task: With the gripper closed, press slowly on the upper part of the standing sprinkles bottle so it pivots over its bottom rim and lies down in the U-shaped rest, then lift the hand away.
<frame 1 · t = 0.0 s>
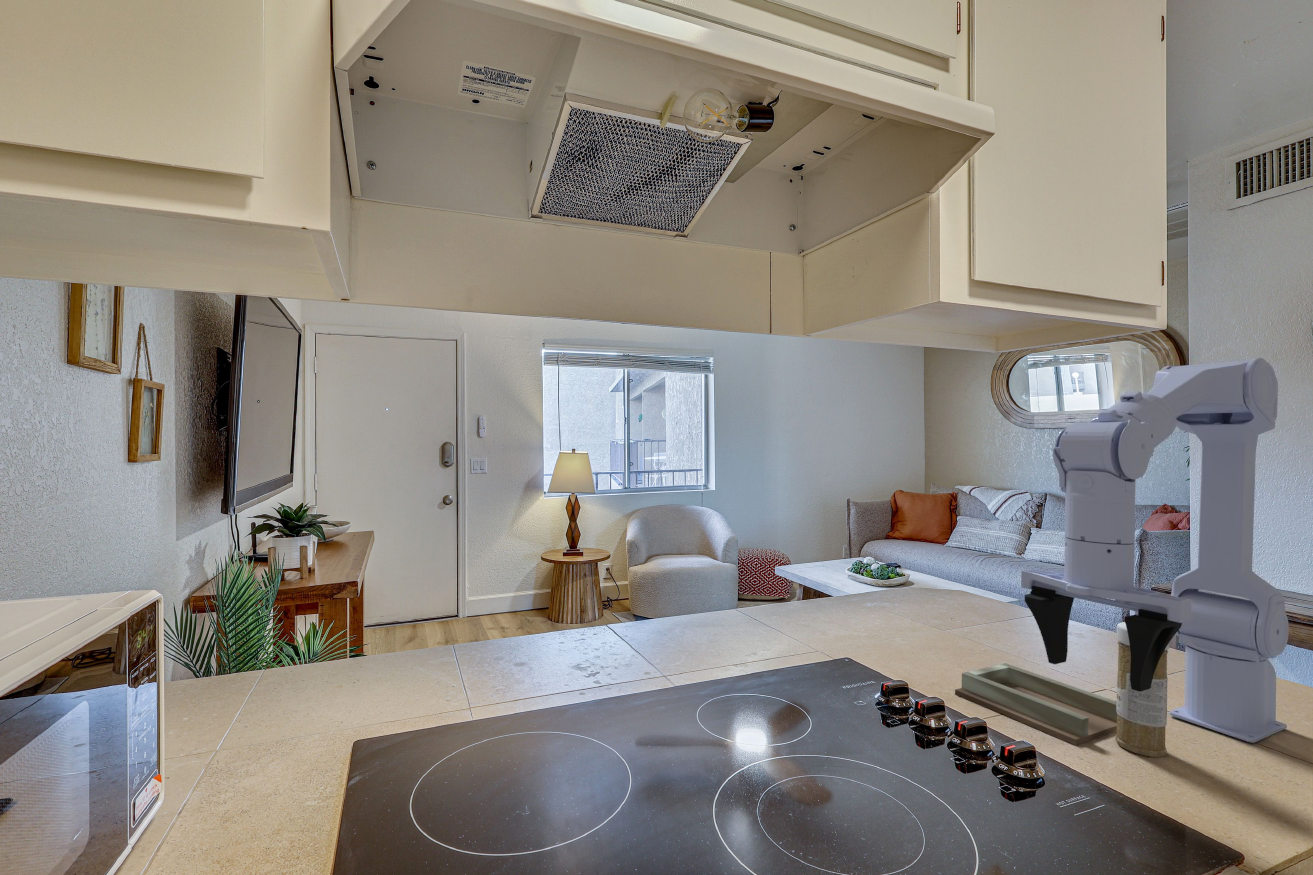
hand: (1096, 674, 61), 10 cm above the counter, tool pointing down, fingers open, 7 cm apart
sprinkles bottle: (1140, 750, 67), on the counter
bottle rest: (1039, 708, 77), on the counter
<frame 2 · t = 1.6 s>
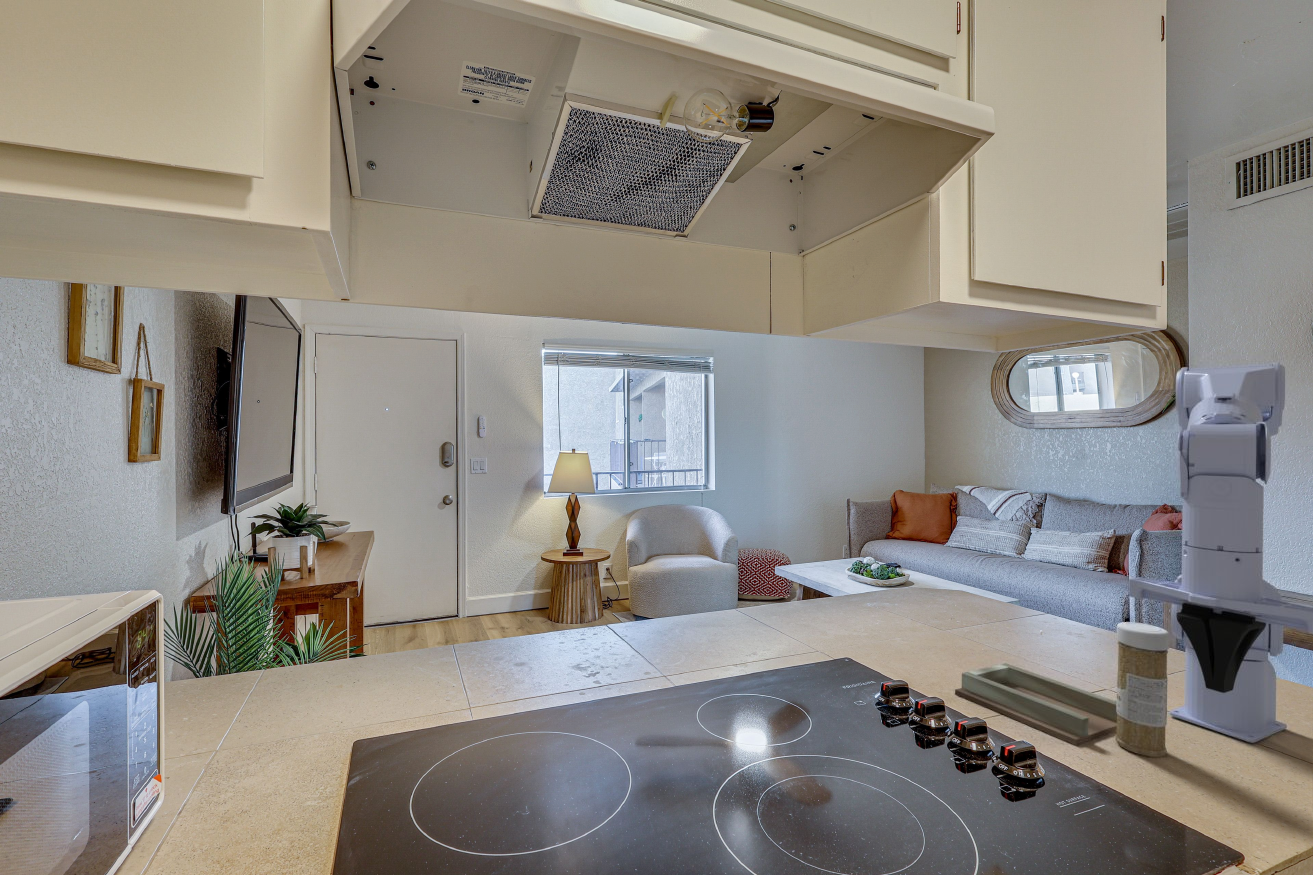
hand: (1219, 688, 58), 10 cm above the counter, tool pointing down, fingers closed
nothing on the counter moved.
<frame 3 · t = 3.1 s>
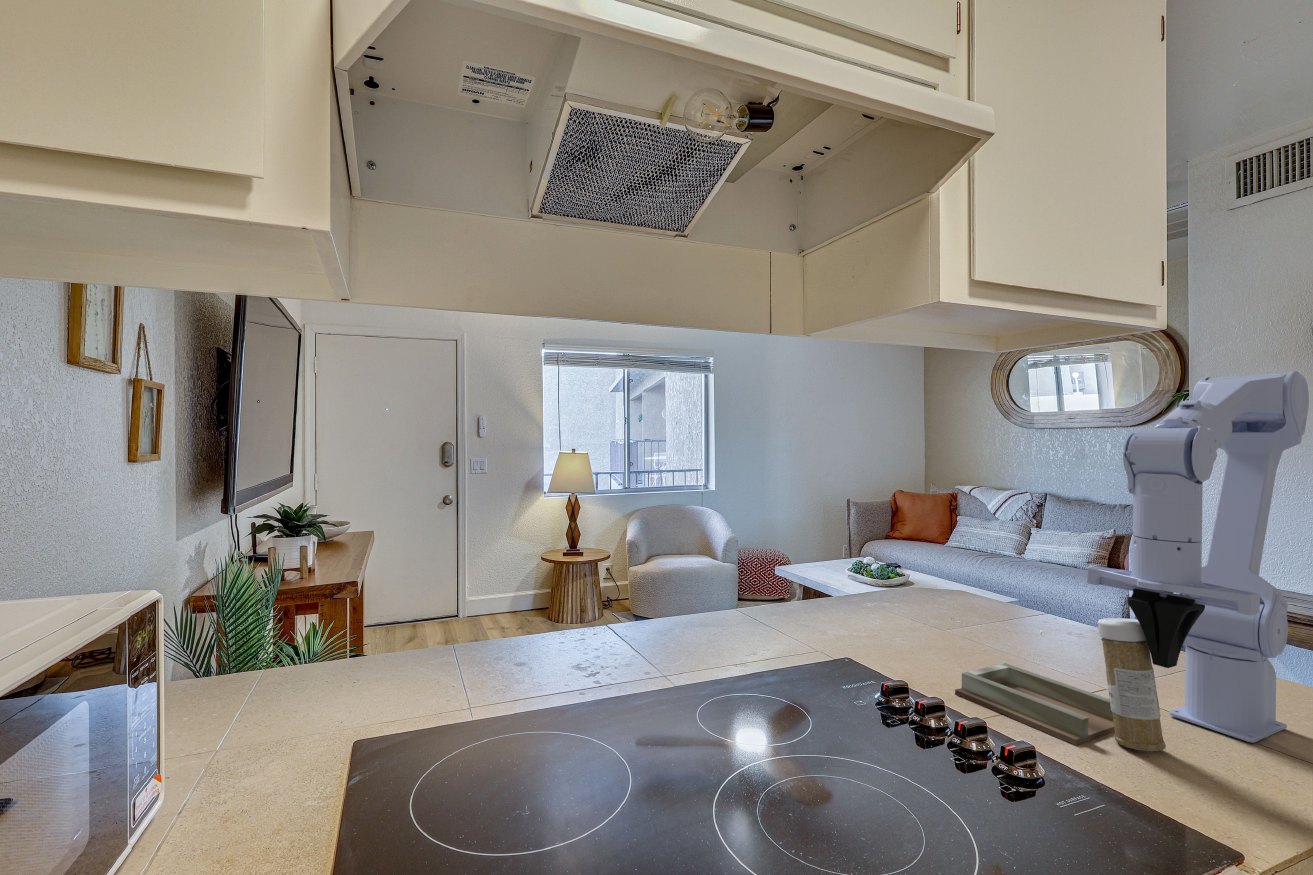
hand: (1164, 664, 65), 10 cm above the counter, tool pointing down, fingers closed
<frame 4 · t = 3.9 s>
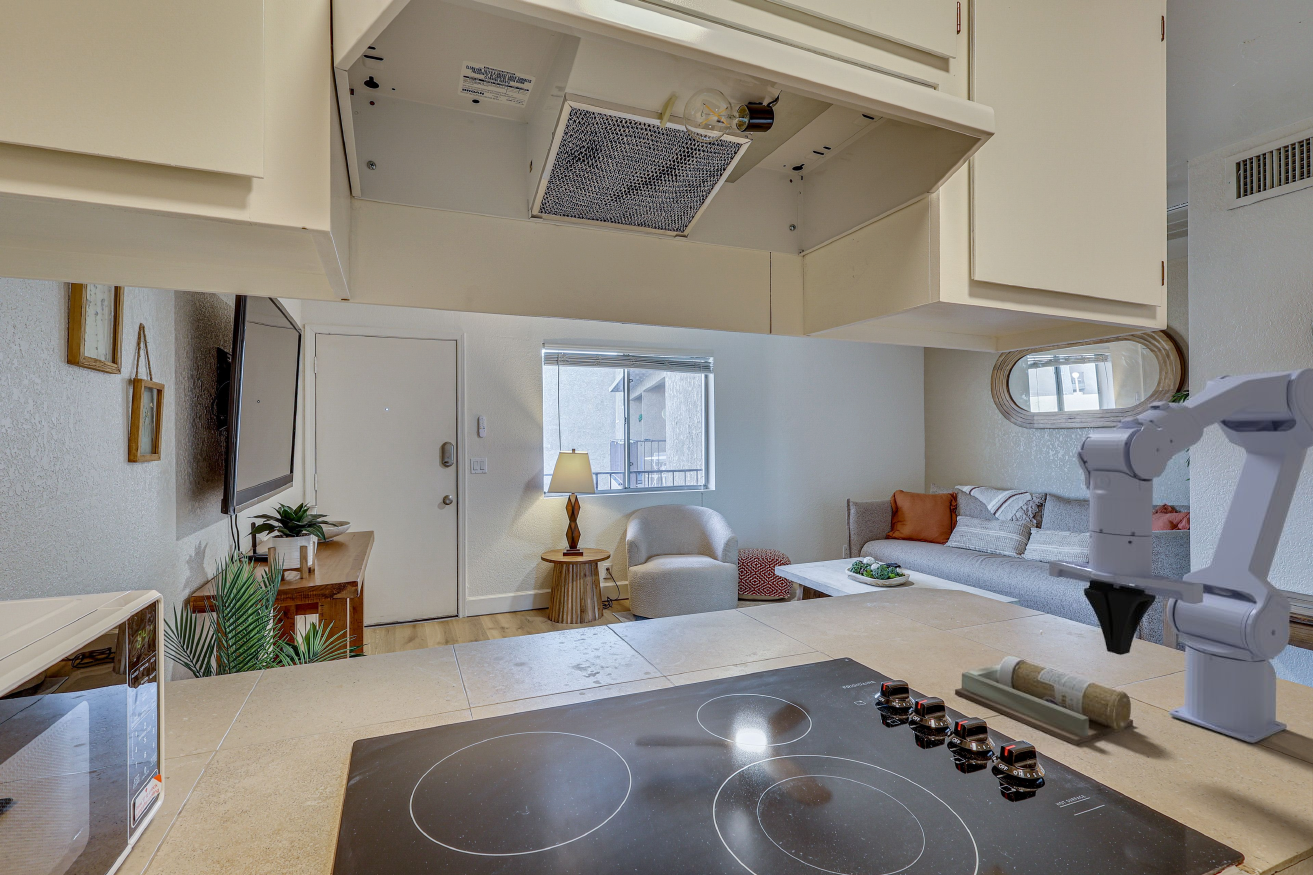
hand: (1118, 651, 69), 10 cm above the counter, tool pointing down, fingers closed
sprinkles bottle: (1126, 712, 69), point 3 cm above the counter
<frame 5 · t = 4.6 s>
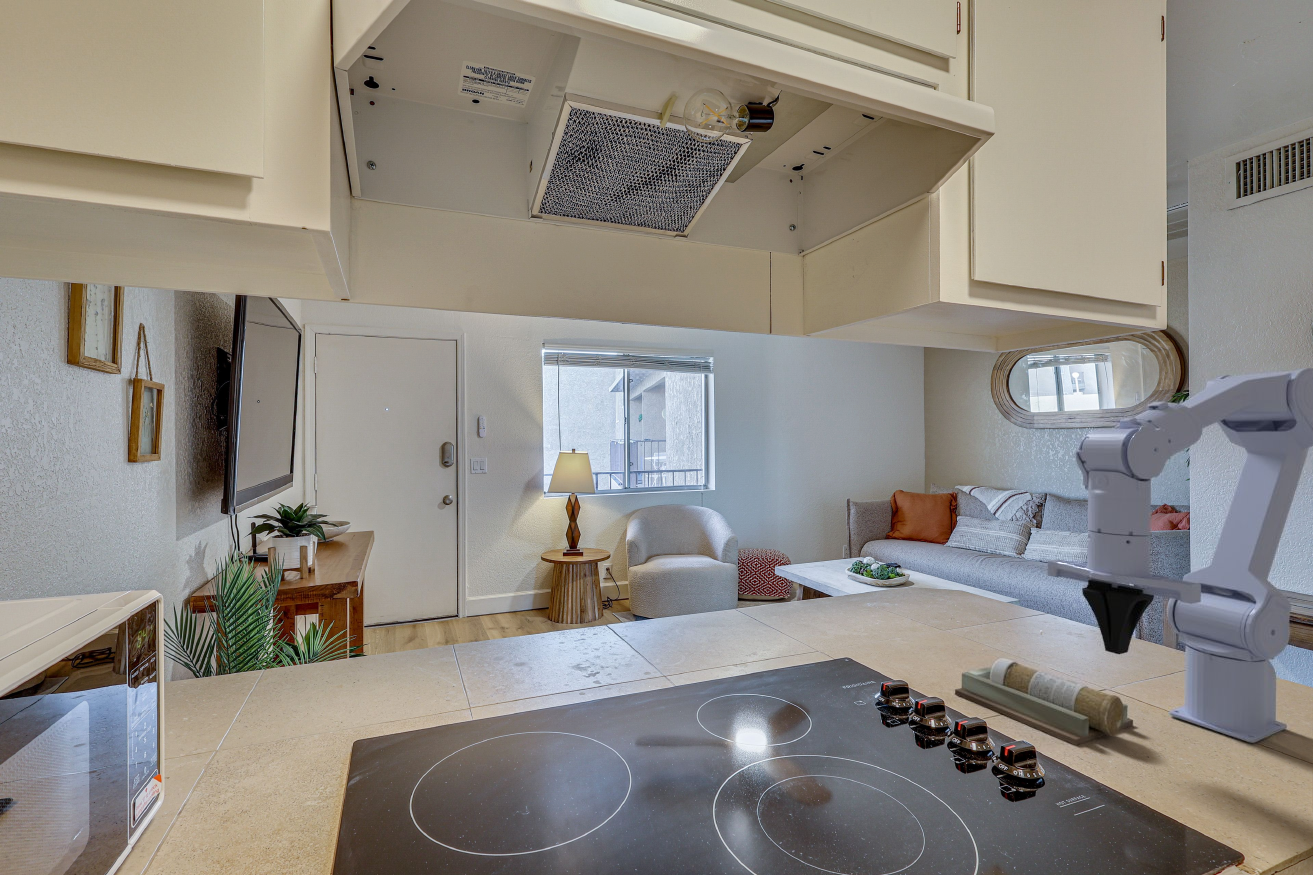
hand: (1116, 651, 69), 10 cm above the counter, tool pointing down, fingers closed
sprinkles bottle: (1118, 716, 68), point 3 cm above the counter, touching bottle rest
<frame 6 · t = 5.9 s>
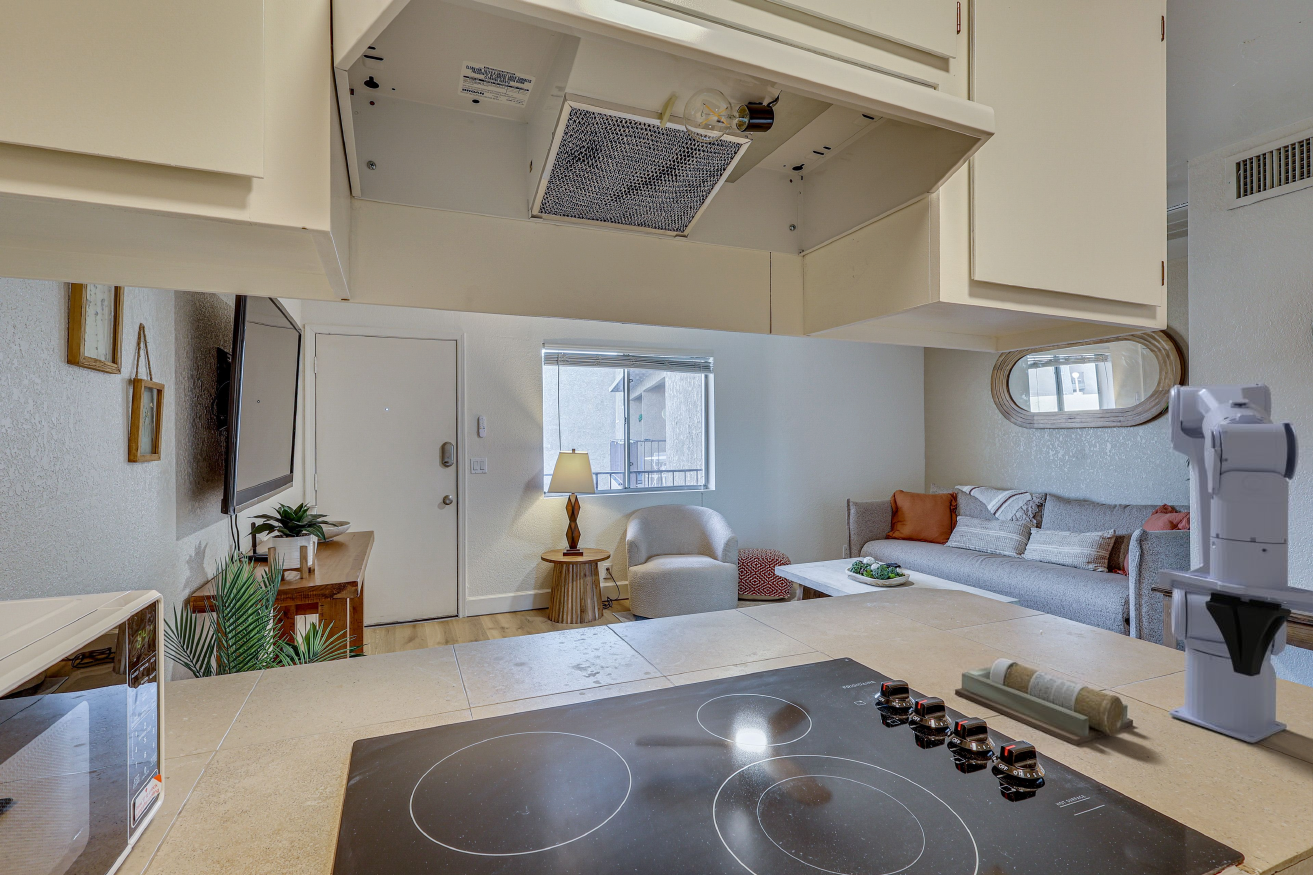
hand: (1246, 673, 62), 10 cm above the counter, tool pointing down, fingers closed
nothing on the counter moved.
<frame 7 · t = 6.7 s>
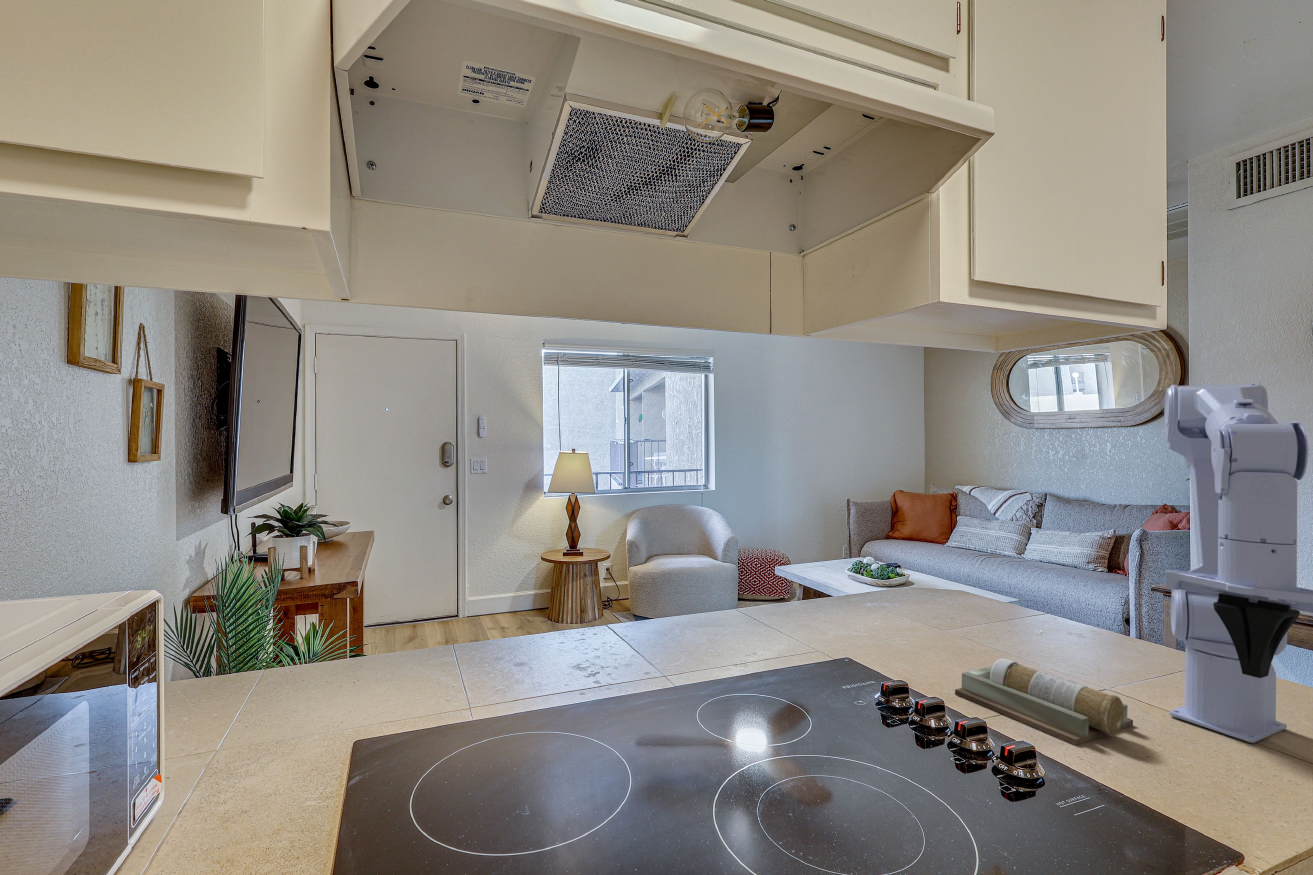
hand: (1255, 674, 61), 10 cm above the counter, tool pointing down, fingers closed
nothing on the counter moved.
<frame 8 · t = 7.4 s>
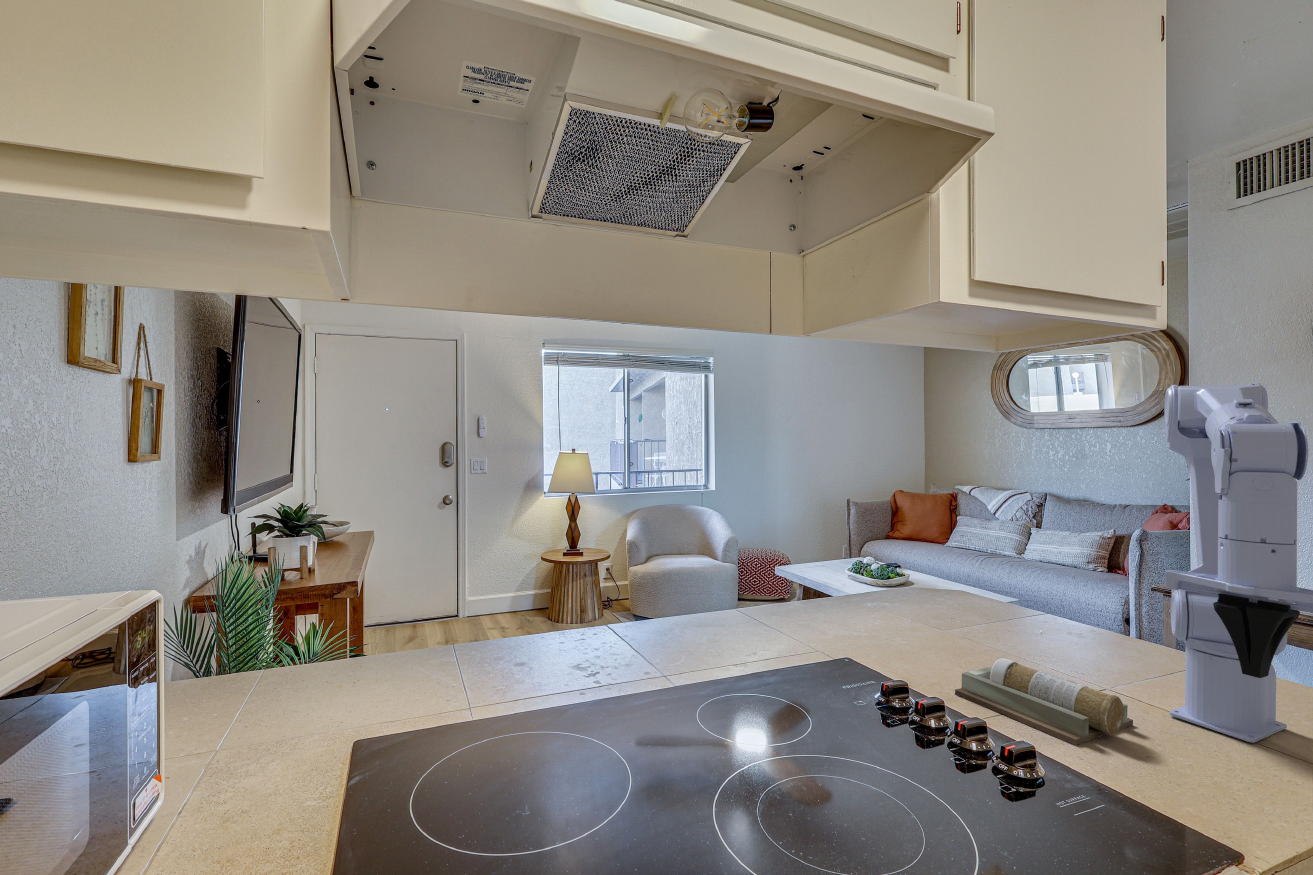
hand: (1255, 674, 61), 10 cm above the counter, tool pointing down, fingers closed
nothing on the counter moved.
at the end: sprinkles bottle tilted 89°; sprinkles bottle 2.0 cm from the target spot on the bottle rest, point 2.7 cm above the bottle rest's base; sprinkles bottle touching bottle rest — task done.
